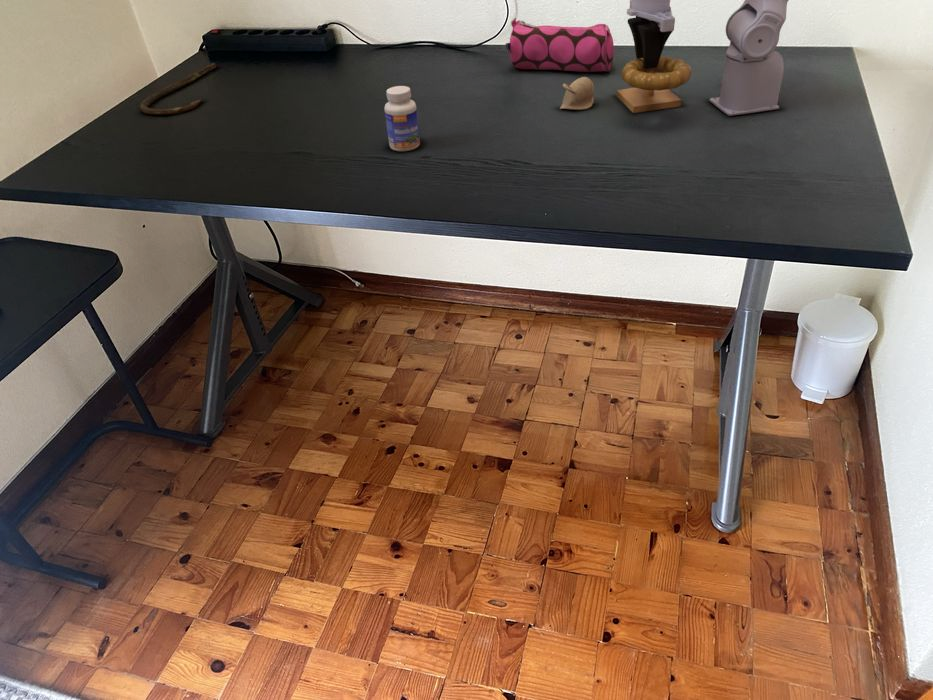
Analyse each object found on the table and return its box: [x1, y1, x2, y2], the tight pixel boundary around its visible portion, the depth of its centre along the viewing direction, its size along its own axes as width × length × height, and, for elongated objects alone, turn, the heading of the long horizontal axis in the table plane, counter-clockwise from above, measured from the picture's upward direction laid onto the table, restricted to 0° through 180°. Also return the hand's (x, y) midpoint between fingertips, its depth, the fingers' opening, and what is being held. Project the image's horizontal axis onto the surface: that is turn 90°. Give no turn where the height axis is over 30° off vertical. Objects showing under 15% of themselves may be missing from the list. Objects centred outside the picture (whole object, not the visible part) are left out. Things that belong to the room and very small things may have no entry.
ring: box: [620, 56, 692, 90], centre depth 123 cm, size 11×11×3 cm
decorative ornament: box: [559, 76, 595, 111], centre depth 134 cm, size 4×8×5 cm, turn 129°
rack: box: [615, 87, 682, 114], centre depth 133 cm, size 9×9×6 cm
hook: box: [139, 62, 217, 116], centre depth 158 cm, size 12×30×2 cm, turn 8°
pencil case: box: [505, 17, 615, 73], centre depth 149 cm, size 21×10×10 cm, turn 73°
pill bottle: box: [383, 85, 421, 152], centre depth 124 cm, size 5×5×10 cm
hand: (646, 64), depth 126 cm, fingers closed on ring, 3 cm apart
